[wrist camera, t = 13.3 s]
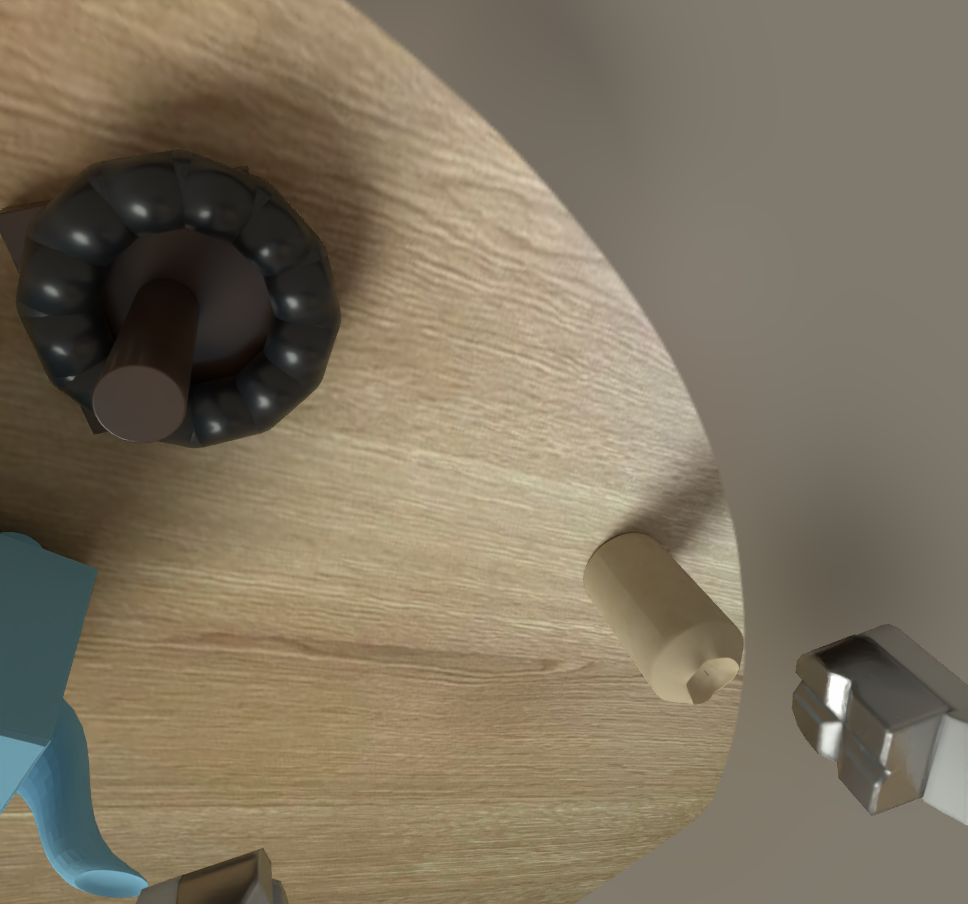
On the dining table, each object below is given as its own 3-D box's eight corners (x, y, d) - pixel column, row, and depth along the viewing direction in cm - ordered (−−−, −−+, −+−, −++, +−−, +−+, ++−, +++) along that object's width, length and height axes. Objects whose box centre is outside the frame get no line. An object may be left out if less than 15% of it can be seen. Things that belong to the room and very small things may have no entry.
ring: (295, 128, 27) (301, 132, 25) (357, 395, 32) (366, 417, 30) (-28, 178, 25) (-54, 188, 22) (98, 456, 30) (87, 486, 28)
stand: (247, 165, 28) (255, 209, 18) (305, 371, 33) (336, 494, 23) (2, 208, 26) (-131, 282, 17) (99, 421, 31) (38, 576, 21)
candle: (619, 616, 46) (706, 735, 38) (565, 582, 43) (645, 703, 35) (677, 555, 45) (779, 663, 37) (625, 516, 43) (723, 624, 34)
